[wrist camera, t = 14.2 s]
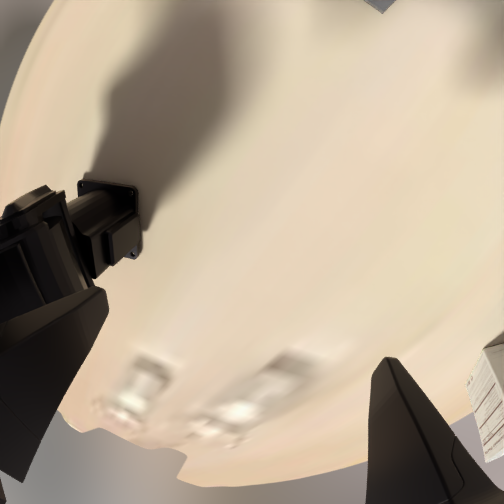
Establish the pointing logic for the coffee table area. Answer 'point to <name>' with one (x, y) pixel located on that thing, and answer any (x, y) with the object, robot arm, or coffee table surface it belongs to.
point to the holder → (380, 4)
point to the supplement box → (489, 399)
